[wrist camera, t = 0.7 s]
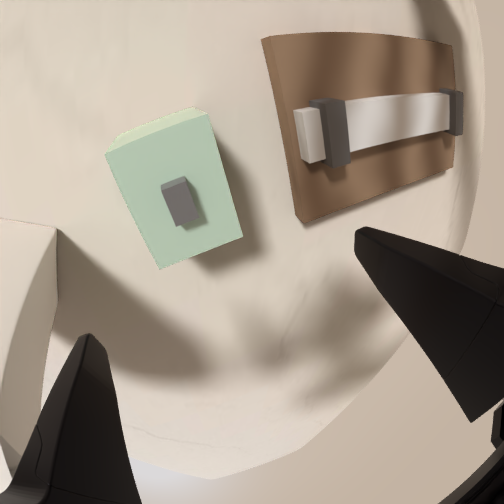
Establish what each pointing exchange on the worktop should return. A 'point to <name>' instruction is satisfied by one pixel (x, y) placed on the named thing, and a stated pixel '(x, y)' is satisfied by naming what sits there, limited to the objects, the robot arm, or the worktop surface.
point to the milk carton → (23, 332)
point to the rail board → (361, 114)
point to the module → (175, 186)
